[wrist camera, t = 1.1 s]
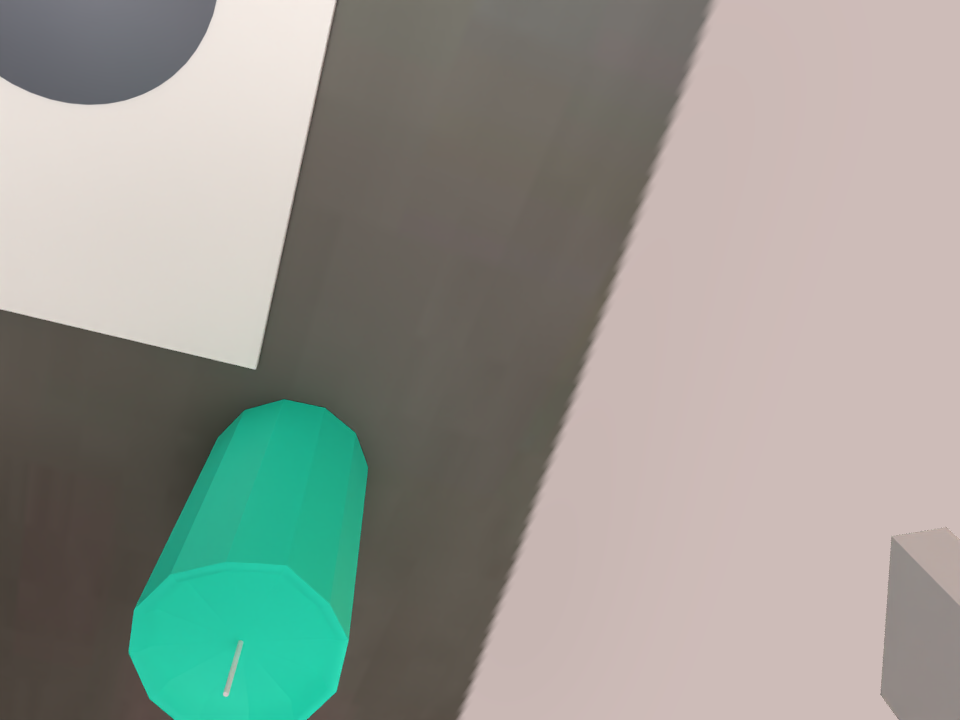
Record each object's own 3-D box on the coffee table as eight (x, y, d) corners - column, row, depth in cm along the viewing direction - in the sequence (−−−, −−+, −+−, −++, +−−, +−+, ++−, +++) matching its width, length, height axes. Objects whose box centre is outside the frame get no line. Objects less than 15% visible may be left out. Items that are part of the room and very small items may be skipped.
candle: (325, 558, 35) (282, 809, 24) (186, 497, 33) (69, 735, 22) (395, 441, 33) (383, 652, 22) (251, 372, 32) (160, 561, 20)
